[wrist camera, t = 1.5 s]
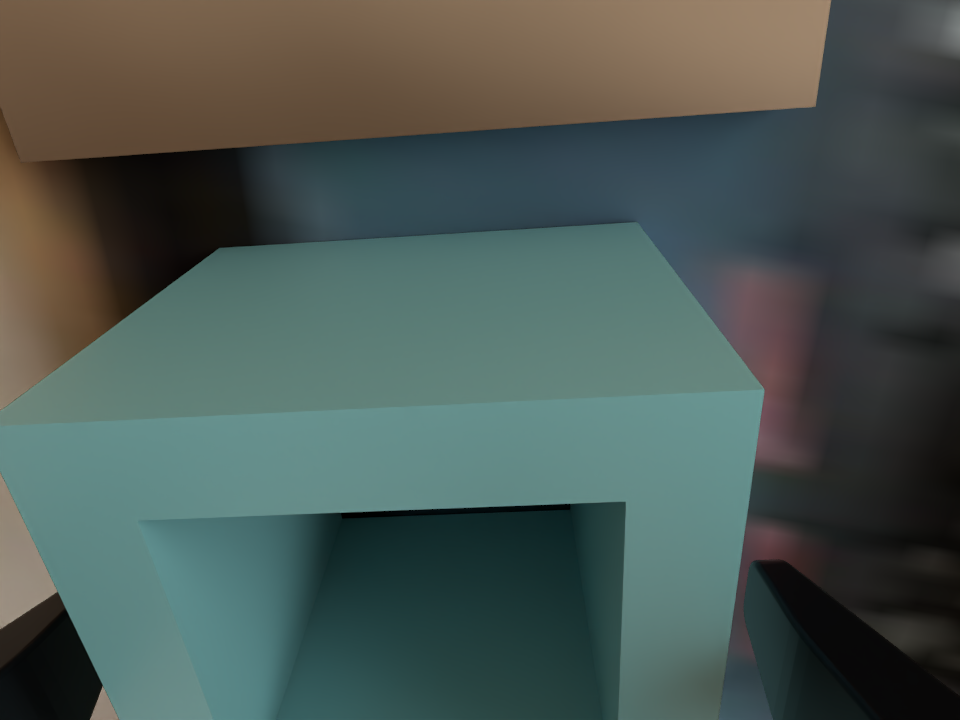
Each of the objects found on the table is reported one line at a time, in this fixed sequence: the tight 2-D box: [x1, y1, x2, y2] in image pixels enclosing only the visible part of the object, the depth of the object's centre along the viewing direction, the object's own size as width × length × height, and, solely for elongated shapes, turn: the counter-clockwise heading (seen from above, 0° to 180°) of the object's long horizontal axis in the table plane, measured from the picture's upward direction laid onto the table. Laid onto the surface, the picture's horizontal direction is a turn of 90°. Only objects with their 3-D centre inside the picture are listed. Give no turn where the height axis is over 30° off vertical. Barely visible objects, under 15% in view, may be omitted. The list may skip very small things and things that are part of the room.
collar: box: [0, 222, 765, 720], centre depth 10 cm, size 7×7×6 cm
